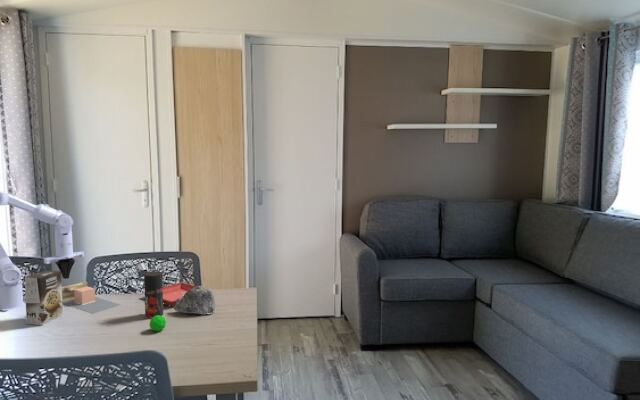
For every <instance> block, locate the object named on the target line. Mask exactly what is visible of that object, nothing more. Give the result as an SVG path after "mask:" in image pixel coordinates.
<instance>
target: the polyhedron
mask: <svg viewBox="0 0 640 400" xmlns="http://www.w3.org/2000/svg"><path fill="white" fill-rule="evenodd" d="M166 324H167V320H166V318H165V317H164V316H160V315H157V316H154V317H153V318H150V320H149V328H150V329H151V330H152V331H155V332H161V331H163V330H164V329H165V327H166Z"/></svg>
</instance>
